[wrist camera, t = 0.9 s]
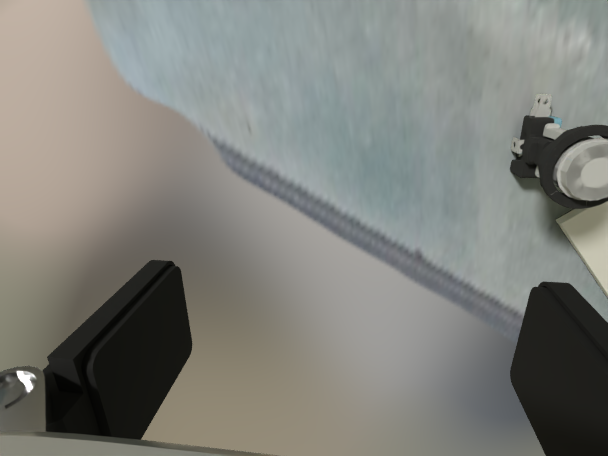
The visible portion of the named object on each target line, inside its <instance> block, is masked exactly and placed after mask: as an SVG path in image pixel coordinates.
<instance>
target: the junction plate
mask: <svg viewBox="0 0 608 456" xmlns="http://www.w3.org/2000/svg"><path fill="white" fill-rule="evenodd" d="M556 222H557V223H558V225H559V226H560V228H561V229H562V231H563V232H564V234H565V235H566V237H567V238H568V240H569V241H570V243H571V244H572V246H573V247H574V248H575V250H576V251H577V253H578V254H579V256H580V257H581V259H582V260H583V262H584V263H585V265H586V266H587V268H588V269H589V271H590V272H591V274H592V275H593V277H594V278H595V280H596V281H597V283H598V284H599V286H600V287H601V289H602V290H603V292H604V293H605V295H606V296H607V298H608V201H607V202H605V203H603V204H601V205H598V206H595V207H591V208H585V209H574V210H572V211H570V212H568V213H567V214H565V215H563V216H561V217H560V218H558V219H556Z"/></svg>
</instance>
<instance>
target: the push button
mask: <svg viewBox="0 0 608 456" xmlns="http://www.w3.org/2000/svg"><path fill="white" fill-rule="evenodd" d="M539 98H540V103H538V99H539ZM546 99H547V100H548V103H547V104H545V101H546ZM551 99H552V95H546V94H537V95H536V97H535V102H534V107H533V108H531V113H530V116H525V117H524V121H523V126H522V132H521V137H520V140H519V139H517V138H515V137H514V138H513V140H512V146H511V150H512V151H514V152H516V153H517V159H516V160H512V162H511V167H510V170H511V172H513V173H514V174H516V175H517V176H519V177H520V178H540V184H541V186H542V187H543V189H544V191H545V193H546V194H547V195H548V196H549V197H550V198H551V199H552V200H553V201H555V202H556V203H558V204H560V205H562V206H565V207H568V208H574V209H585V208H591V207H595V206H598V205H601V204H603V203H605V202H607V201H608V126H605V125H589V126H584V127H583V126H581V127H577V128H574V129H570V130H564V129H560V128H561V124H562V120H561V118H557V117H553V116H550V114H551V109H549V108H550V104H551ZM594 135H600V136H601V137H603V138H604V139H603V138H595V139H594V138H591V137H588V136H594ZM514 143H515V147H514ZM554 184H555V185H556V186H558V187H560V189H561V190H562V191H563V192H564V193H561V192H559V191H558V190H557V189H556V187H555V185H554Z"/></svg>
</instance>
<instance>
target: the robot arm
mask: <svg viewBox="0 0 608 456" xmlns="http://www.w3.org/2000/svg"><path fill="white" fill-rule="evenodd" d="M191 350H192V338H191V332H190V326H189V320H188V313H187V307H186V300H185V294H184V288H183V281H182V275H181V270H180V268H179V267H178V266H175V264H174V263H173V262H172V261H161V260H151V261H149V262H148V263H147V264H146V265H145V266H144V267H143V268H142V269H141V270H140V271H139V272H138V273H137V274H136V275H134V276H133V277H132V278H131V279H130V280H129V281H128V282H127V283H126V284H125V285H124V286H123V287H122V288H120V289H119V290H118V291H117V292H116V293H115V294H114V295H113V296H112V297H111V298H110V299H109V300H108V301H106V302H105V303H104V304H103V305H102V306H101V307H100V308H99V309H98V310H97V311H96V312H95V313H94V314H93V315H92V316H90V317H89V318H88V319H87V320H86V321H85V322H84V323H83V324H82V325H81V326H80V327H79V328H78V329H77V330H75V331H74V332H73V333H72V334H71V335H70V336H69V337H68V338H67V339H66V340H65V341H64V342H63V343H62V344H60V346H58V347H57V348H56V349H55V350H54V351H53V352H52V353H51V354H50V355H49V356H48V357H47V358H48V361H49V365H48V366H47V367H46V368H45V369H44V370H43V371H42V370H40V369H39V368H37V367H32V366H21V367H14V368H10V369H7V370H3V371H1V372H0V456H277V455H270V454H261V453H252V452H244V451H235V450H226V449H217V448H209V447H200V446H191V445H181V444H173V443H165V442H156V441H147V440H141V438H142V437H143V435H144V433H145V431H146V430H147V428H148V426H149V424H150V423H151V421H152V419H153V417H154V416H155V414H156V413H157V411H158V409H159V407H160V406H161V404H162V402H163V401H164V399H165V397H166V396H167V394H168V392H169V390H170V389H171V387H172V385H173V384H174V382H175V380H176V378H177V377H178V375H179V373H180V372H181V370H182V368H183V366H184V365H185V363H186V361H187V359H188V358H189V356H190V354H191ZM510 376H511V382H512V385H513V387H514V389H515V391H516V394H517V396H518V398H519V400H520V402H521V404H522V406H523V408H524V410H525V413H526V415H527V417H528V419H529V421H530V423H531V425H532V427H533V429H534V431H535V434H536V436H537V438H538V440H539V442H540V444H541V446H542V448H543V450H544V453H545V455H546V456H608V323H607V322H606V321H605V320H604V319H603V318H602V316H601V315H600V314H599V313H598V312H597V311H596V310H595V309H594V308H593V307H592V306H591V305H590V304H589V303H588V302H587V301H586V300H585V299H584V298H583V297H582V296H581V295H580V293H579V292H578V291H577V290H576V289H575V288H574V287H573V286H572V285H571V284H569V283H558V282H542V283H540V284H539V286H538V287H533V288H532V290H531V292H530V295H529V299H528V303H527V307H526V311H525V315H524V319H523V323H522V327H521V331H520V334H519V338H518V342H517V346H516V350H515V354H514V358H513V362H512V366H511V371H510Z"/></svg>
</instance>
